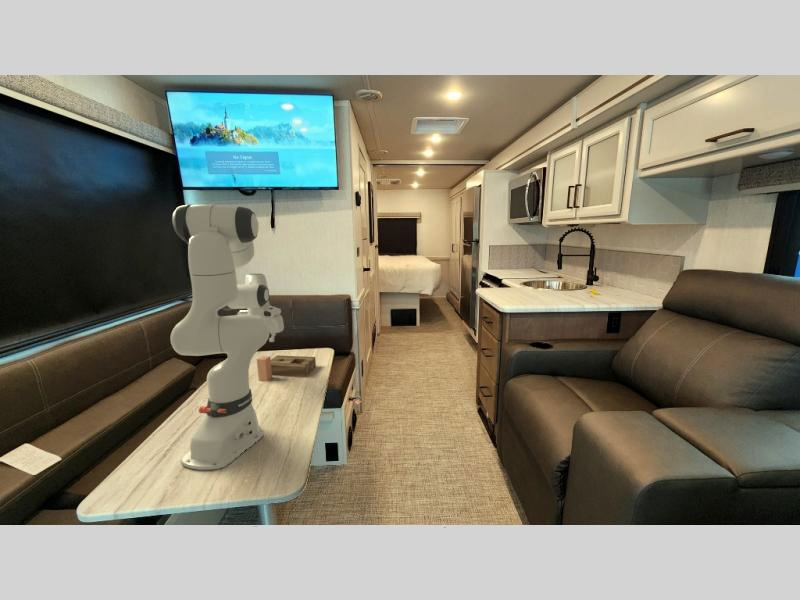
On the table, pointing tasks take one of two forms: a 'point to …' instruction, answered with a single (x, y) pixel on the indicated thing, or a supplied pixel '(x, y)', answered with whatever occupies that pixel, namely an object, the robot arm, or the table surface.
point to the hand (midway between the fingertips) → (262, 341)
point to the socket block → (292, 365)
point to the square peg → (264, 368)
